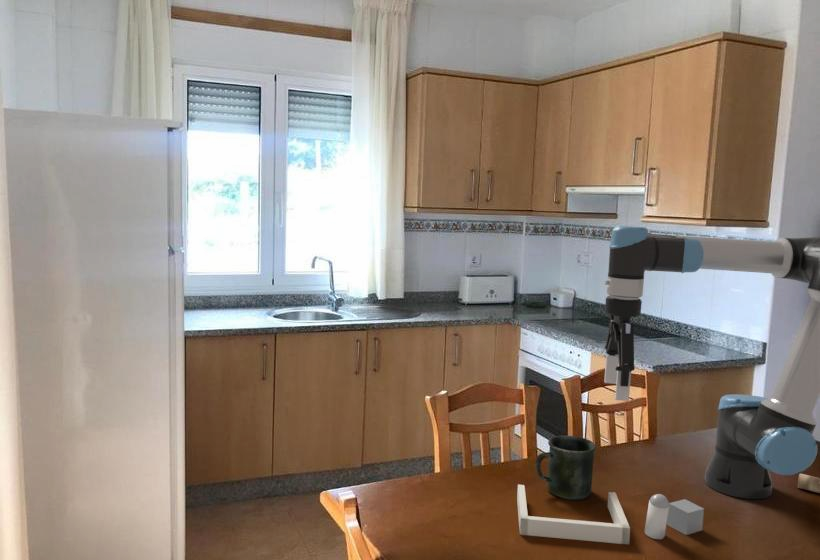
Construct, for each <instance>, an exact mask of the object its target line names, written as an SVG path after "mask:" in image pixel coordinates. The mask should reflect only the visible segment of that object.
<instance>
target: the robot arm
mask: <svg viewBox="0 0 820 560" xmlns="http://www.w3.org/2000/svg"><path fill="white" fill-rule="evenodd" d="M608 256H609V257H608V273H607V280H605V281H604V285H605V286H606V293H607V296H606V297H605V302H604V303H605V304H604V307H605V308H604V312H605V313H606V314H607V315H609V316H610V320H609V325H608V331H607V335H606V342H605V346H604V350H606V351H605V352H606V354H605V355H606V358H605V368H604V369H605V370H604V383H605V384H612V385H613V384H615V392H614V393H615V397H614V400H615V401H623V402H629V400H630V392H631V391H630V390H631V389H630V388H631V380H632V379H631V377H632V372H633V371H635V367H636V366H635V346H634V345H635V339H634V334H635V324H634V323H631V319H632V318H637V317H638V318H639V316H640V315H641V313H642V303H643V301H642V299H641V298H642V297H643V295H644V294H643V293H644V283H645V272H646V271H647V272H652V271H654V272H668V273H681V274H684V273H696V272H697V271H699V270H713V271H714V270H715V271H727V272H728V271H731V272H744V273H745V272H746V273H760V274H761V273H764V274H771V275H772V277H775V278H777V279H788V280H793V281H797V282H801V283H805V284H808V286H807V287H806V291H807V294H808V295H809V297H810V302H809V304H808V306H807V309H806V311H805V313H804V316H803V318H802V321H801V323H800V326H799V328H798V331H797V333H796V336H795V338H794V339H793V343H792V345H791V348H790V349H789V353H788V355H787V358H786V360H785V362H784V364H783V367H782V368H781V369H782V370H781V373H780V374H779V376H778V378H777V382H776V385H775V386H774V389H773V390H772V394H771V396H770V397H765V396H764V397H763V396H757V395H752V394H751V395H750V394H739V393H738V394H736V393H735V394H733V393H732V394H725V395H723V396H722V397H720V400H719V404H718V408H717V410H718V412H717V421H716V422H717V424H716V435H715V445H714V447H715V448H714V452H713V455H712V456H711V459H710V461H709V463H708V465H707V467H706V469H705V472H704V483H706V485H707V486H708V487H710V489H713V490H714V491H717V492H719V493H721V494H725V495H727V496H731V497H734V498H739V499H745V500H760V499H761V500H762V499H767V498H769V497H770V496H771V495H772V492H773V482H772V477H771V472H772V473H773V474H776V475H780V476H793V475H796V474H798V473H802V472H804V471H806V470H807V469H808V468H809V467H810V466H811V465H813V463H814V461H815V460H816V457H817V454H818V444H817V440H816V439H815V437H814V436H813V433H814V431H815V429H816V426H817V421H816V419H815V417H814V415H813V412H814V409H815V407H816V405H817V403H818V400H819V398H820V236H813V237H793V238H792V237H778V238H776V239H775V240H774V241H770V240H755V239H738V238H737V239H736V238H725V237H724V238H722V237H721V238H719V237H707V236H706V237H704V236H693V235H692V236H689V235H677V234H676V235H672V234H671V235H669V234H655V233H652V232H649V231H648V228H647V227H644V226H632V225H631V226H630V225H617V226H615V227H613V229H612V232H611V237H610V243H609V255H608Z"/></svg>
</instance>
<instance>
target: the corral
mask: <svg viewBox="0 0 820 560" xmlns="http://www.w3.org/2000/svg"><path fill="white" fill-rule="evenodd" d="M516 491H517V494H516V495H517V496H516V501H517V503H516V504H517V513H518V514H517V515H518V516H517V517H518V525H519V527H518V528H519V529H518V530H519V535H521V536H529V537H530V536H531V537H540V538H541V537H544V538H554V539H563V540H564V539H565V540H574V541H575V540H576V541H587V542H597V543H607V544H609V543H610V544H618V545H630V537H631V536H630V535H631V527H630V524H629V522H628V520H627V517H626V515H625V512H624V510H623V507H622V505H621V503H620V501H619V498H618V496H617V493H616V491H615V492H614V491H613V492H611V491H608V496H607V506H606V507H607V509H608V511H609V514H610V517H611V520H612V522H613V523H611V522H602V521H601V522H600V521H589V520H579V519H566V518H557V517H554V518H553V517H546V516H543V517H542V516H533V515H531V516H530V515H528V507H527V506H528V505H527V498H526V495H527V494H526V487H525V485H524V484H517V490H516Z"/></svg>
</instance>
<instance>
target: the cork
mask: <svg viewBox="0 0 820 560" xmlns="http://www.w3.org/2000/svg"><path fill="white" fill-rule="evenodd" d="M797 488H798V489H801V490H806V491H809V492H813V493H818V494H820V477H817V476H813V475H809V474H804V473H799V474H798V480H797Z"/></svg>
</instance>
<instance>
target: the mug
mask: <svg viewBox="0 0 820 560" xmlns="http://www.w3.org/2000/svg"><path fill="white" fill-rule="evenodd" d="M547 443H548V446H549V450H548V451H547V452H542V453H539V454H538V455H537V456H536V458H535V462H534V464H535V471H536V473H537V475H538V477H539V479H541V480H543V482H546V487H547V490H548V491H549V493H551V495H553V496H555V497H559V498H562V499H565V500H583V499H587V498H588V497H589V496H590V495H591V493H592V483H593V471H594V470H593V469H594V458H595V457H594V456H595V451H596V450H597V445H596V443H594V442H593V441H592V440H590V439H587V438H584V437H581V436H577V435H576V436H575V435H556V436H553V437H551V438H549V439H548V441H547ZM547 458H548V469H547V476H544V474H543V473H542V470H541V464H542V463H541V462H542V461H543V460H544V459H547Z"/></svg>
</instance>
